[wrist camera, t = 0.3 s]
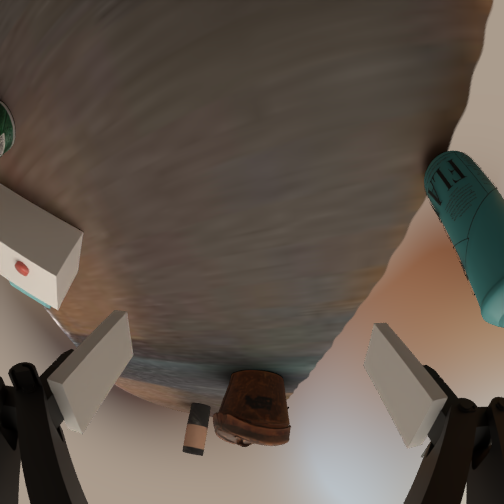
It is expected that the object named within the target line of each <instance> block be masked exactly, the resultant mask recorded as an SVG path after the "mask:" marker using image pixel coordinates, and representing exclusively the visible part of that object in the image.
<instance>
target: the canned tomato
mask: <svg viewBox="0 0 504 504" xmlns="http://www.w3.org/2000/svg"><path fill="white" fill-rule="evenodd" d="M14 140H15V124H14V120H13V117H12V115H11V113H10V111H9V109H8V108H7V106H6V105H5V104H4V103H3V102H1V101H0V157H1V156H2V155H3V154H4V153H5V152H6V151H8V150H9V149H10V148H11V147H12V146H13V144H14Z"/></svg>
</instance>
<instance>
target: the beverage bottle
mask: <svg viewBox="0 0 504 504" xmlns="http://www.w3.org/2000/svg"><path fill="white" fill-rule="evenodd" d="M424 184H425V185H424V187H425V190H426V193H427V194H426V193H425V194H426V195H428V198H429V199H430V201H431V203H432V205H433V206H434V208H435V209H434V208H433V209H434V211H435V212H436V214H437V215H438V216H439V218H440V219H441V222H442V223H443V225H444V226H445V228H446V230H447V232H448V234H449V236H450V237H449V238H450V239H451V241H452V242H453V245H454V247H455V249H456V252H457V253H458V255H459V257H460V260H461V264H463V265H461V266H463V268H464V269H465V270H464V269H463V270H464V271H466V275H467V278H468V279H469V281H470V283H471V286H472V288H473V291H474V293H475V294H474V295H476V298H477V300H478V303H479V306H480V309H481V315H482V317H483V319H484V320H485V321H486V322H488V323H490V324H492V325H495V326H498V327H503V328H504V199H503V198H502V196H501V194H500V193H499V192H498V190H497V188H495V186H494V185H493V184H492V183H491V181H490V180H489V179H488V178H487V176H486V175H485V174H484V173H483V172H482V171H481V169H480V168H479V167H478V166H477V165H476V164H475V162H473V160H472V159H471V158H470V157H469V156H467V155H466V154H464V153H462V152H459V151H447V152H444V153H442V154H440V155H438V156H437V157H436V158H435V159H434V160H433V161H432V162H431V163H430V165H429V166H428V168H427V170H426V173H425V178H424ZM426 197H427V196H426ZM432 205H431V206H432ZM433 206H432V207H433ZM440 219H439V220H440ZM454 247H453V248H454ZM466 275H465V276H466Z"/></svg>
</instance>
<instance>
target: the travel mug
mask: <svg viewBox="0 0 504 504" xmlns="http://www.w3.org/2000/svg"><path fill="white" fill-rule="evenodd" d="M209 415H210V407H209V406H207V405H204V404H199V403H192V406H191V410H190V414H189V419H188V423H187V428H186V434H185V440H184V446H183V452H186V453H190V454H195V455H201V456H203V452H204V446H205V441H206V435H207V429H208V421H209Z"/></svg>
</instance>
